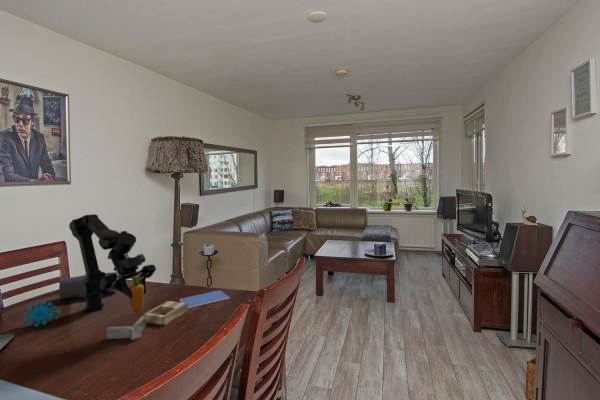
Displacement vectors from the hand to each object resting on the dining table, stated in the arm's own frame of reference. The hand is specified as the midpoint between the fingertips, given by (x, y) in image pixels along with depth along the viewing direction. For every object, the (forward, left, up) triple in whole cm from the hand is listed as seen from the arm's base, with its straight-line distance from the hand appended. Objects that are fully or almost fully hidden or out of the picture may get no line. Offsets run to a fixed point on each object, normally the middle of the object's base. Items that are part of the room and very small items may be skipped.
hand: (138, 295), depth 117 cm
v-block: (+3, -3, -13) cm, 13 cm away
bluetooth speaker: (-49, -22, -13) cm, 55 cm away
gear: (-22, -34, -13) cm, 43 cm away
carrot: (-1, -1, -8) cm, 8 cm away
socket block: (-8, +9, -13) cm, 18 cm away
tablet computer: (-20, +26, -13) cm, 35 cm away
